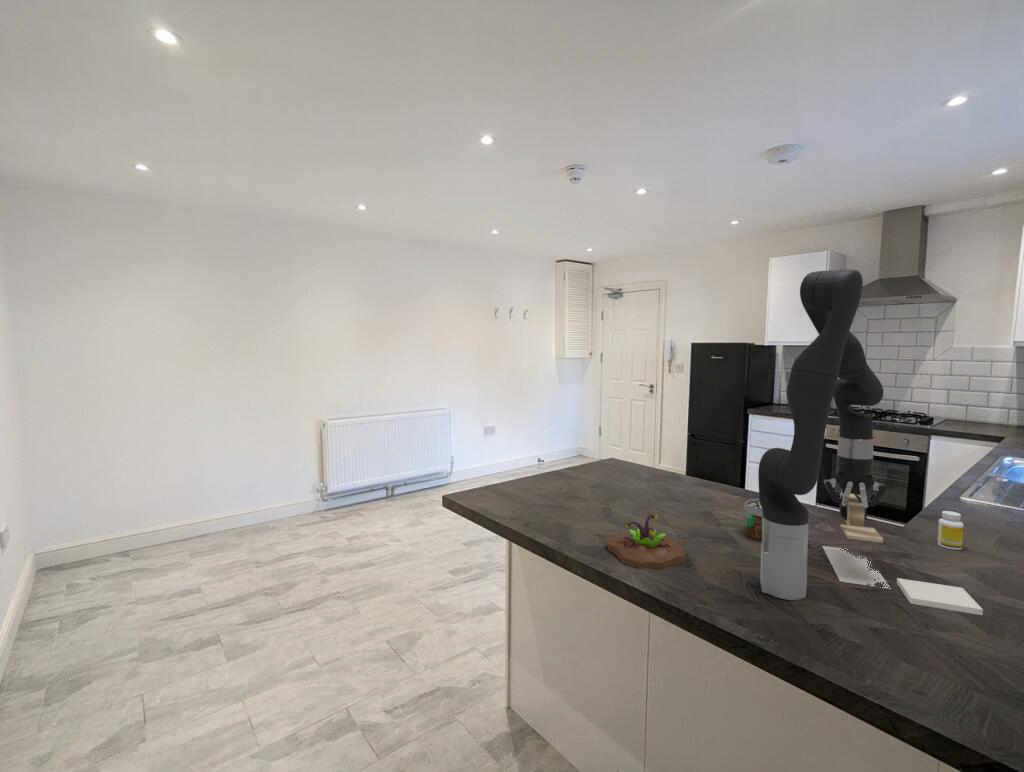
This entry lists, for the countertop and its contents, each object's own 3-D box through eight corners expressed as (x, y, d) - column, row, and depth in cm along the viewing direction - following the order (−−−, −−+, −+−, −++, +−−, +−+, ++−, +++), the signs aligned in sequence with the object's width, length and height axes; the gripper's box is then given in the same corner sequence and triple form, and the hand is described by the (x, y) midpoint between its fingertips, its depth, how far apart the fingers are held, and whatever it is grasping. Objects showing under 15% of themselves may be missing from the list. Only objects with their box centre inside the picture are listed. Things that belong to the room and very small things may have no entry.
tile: (896, 586, 115) (910, 607, 106) (897, 578, 115) (911, 597, 106) (961, 596, 110) (982, 619, 101) (962, 587, 110) (982, 609, 101)
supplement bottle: (967, 551, 134) (969, 516, 133) (945, 549, 135) (947, 515, 134) (953, 543, 139) (955, 510, 138) (932, 542, 140) (934, 509, 139)
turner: (831, 513, 135) (831, 492, 135) (861, 516, 132) (862, 494, 132) (847, 538, 117) (848, 514, 116) (883, 542, 114) (884, 517, 113)
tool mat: (840, 582, 117) (840, 581, 117) (822, 547, 138) (822, 545, 138) (891, 590, 113) (891, 588, 113) (864, 552, 134) (864, 551, 134)
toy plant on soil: (699, 565, 128) (700, 523, 127) (632, 574, 123) (632, 531, 123) (659, 537, 147) (660, 501, 147) (600, 544, 143) (600, 507, 142)
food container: (748, 526, 154) (749, 495, 154) (770, 531, 150) (771, 499, 150) (738, 538, 145) (738, 505, 144) (760, 543, 141) (761, 509, 140)
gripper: (825, 455, 125) (824, 521, 126) (892, 459, 119) (890, 528, 120) (820, 450, 132) (818, 512, 133) (883, 453, 126) (881, 518, 127)
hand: (852, 519), depth 127 cm, fingers closed on turner, 3 cm apart
